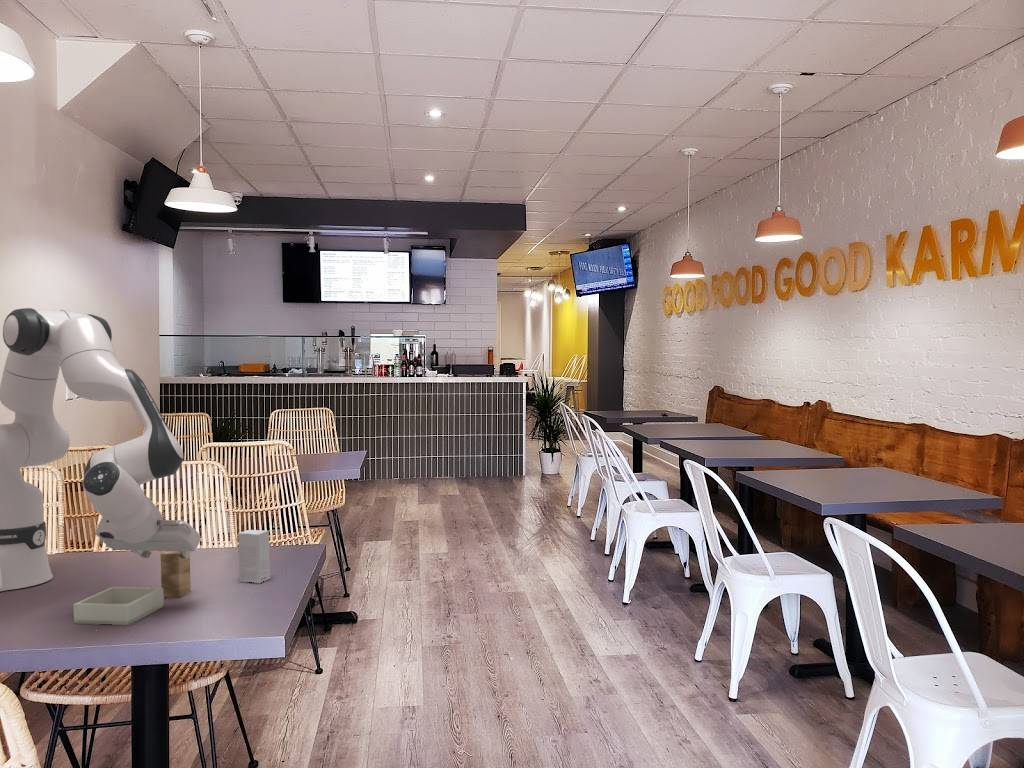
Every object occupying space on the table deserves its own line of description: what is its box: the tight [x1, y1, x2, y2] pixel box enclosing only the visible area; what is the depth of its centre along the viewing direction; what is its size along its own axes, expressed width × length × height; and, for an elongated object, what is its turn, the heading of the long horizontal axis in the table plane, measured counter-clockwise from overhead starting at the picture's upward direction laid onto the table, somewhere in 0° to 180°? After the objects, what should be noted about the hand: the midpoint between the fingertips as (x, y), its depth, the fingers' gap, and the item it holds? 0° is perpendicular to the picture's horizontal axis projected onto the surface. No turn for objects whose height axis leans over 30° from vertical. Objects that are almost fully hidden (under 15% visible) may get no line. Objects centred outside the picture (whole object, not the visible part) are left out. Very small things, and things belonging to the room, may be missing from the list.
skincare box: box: [237, 529, 271, 584], centre depth 179 cm, size 6×4×12 cm
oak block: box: [160, 551, 192, 599], centre depth 169 cm, size 4×4×10 cm
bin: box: [73, 586, 165, 626], centre depth 156 cm, size 12×12×4 cm
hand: (166, 555), depth 166 cm, fingers open, 8 cm apart
